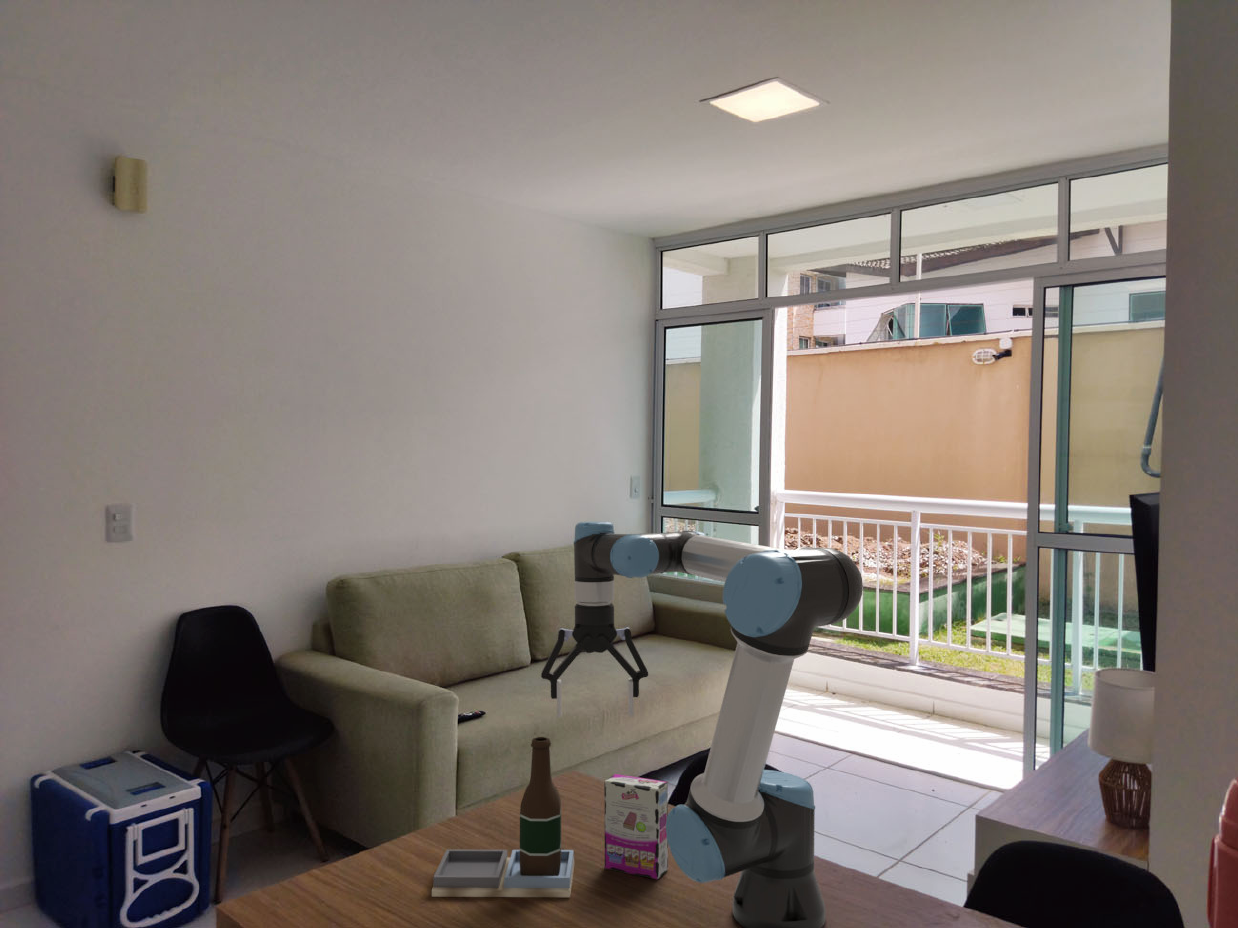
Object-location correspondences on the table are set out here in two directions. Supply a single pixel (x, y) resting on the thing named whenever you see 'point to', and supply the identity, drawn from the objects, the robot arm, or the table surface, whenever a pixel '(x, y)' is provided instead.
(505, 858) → the tray
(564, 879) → the light blue shallow tray
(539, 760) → the beer bottle
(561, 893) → the board
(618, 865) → the candy bar box
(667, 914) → the table surface
